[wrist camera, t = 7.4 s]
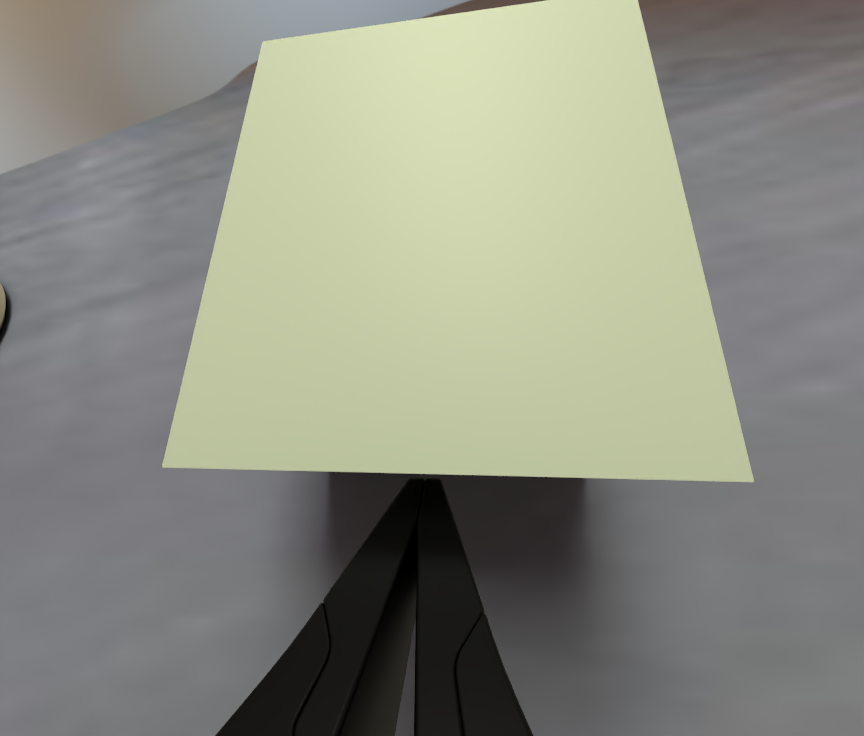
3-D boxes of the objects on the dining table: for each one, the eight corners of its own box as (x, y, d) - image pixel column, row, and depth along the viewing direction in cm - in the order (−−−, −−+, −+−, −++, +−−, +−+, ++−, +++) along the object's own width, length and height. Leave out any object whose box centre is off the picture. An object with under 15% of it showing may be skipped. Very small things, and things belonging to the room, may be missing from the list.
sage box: (584, 467, 14) (754, 482, 6) (330, 462, 16) (162, 467, 7) (556, 210, 18) (634, -13, 10) (354, 224, 20) (262, 41, 11)
